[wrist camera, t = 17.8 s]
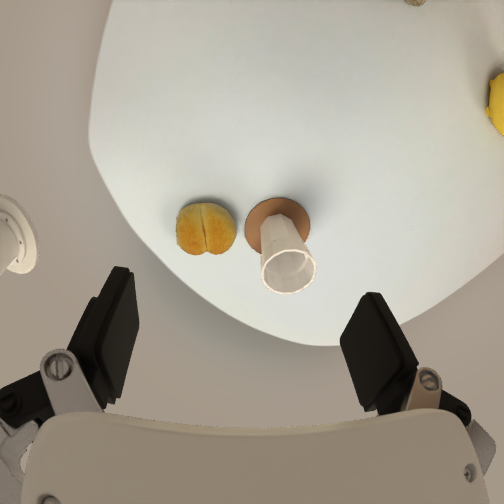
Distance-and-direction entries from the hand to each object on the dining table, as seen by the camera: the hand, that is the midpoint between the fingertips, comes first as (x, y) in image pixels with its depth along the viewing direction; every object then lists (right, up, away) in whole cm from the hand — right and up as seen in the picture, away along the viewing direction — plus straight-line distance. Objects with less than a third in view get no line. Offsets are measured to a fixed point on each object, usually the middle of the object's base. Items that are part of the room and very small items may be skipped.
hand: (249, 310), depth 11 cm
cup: (+4, +6, +32) cm, 32 cm away
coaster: (+4, +6, +32) cm, 33 cm away
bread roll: (-7, +6, +31) cm, 33 cm away
